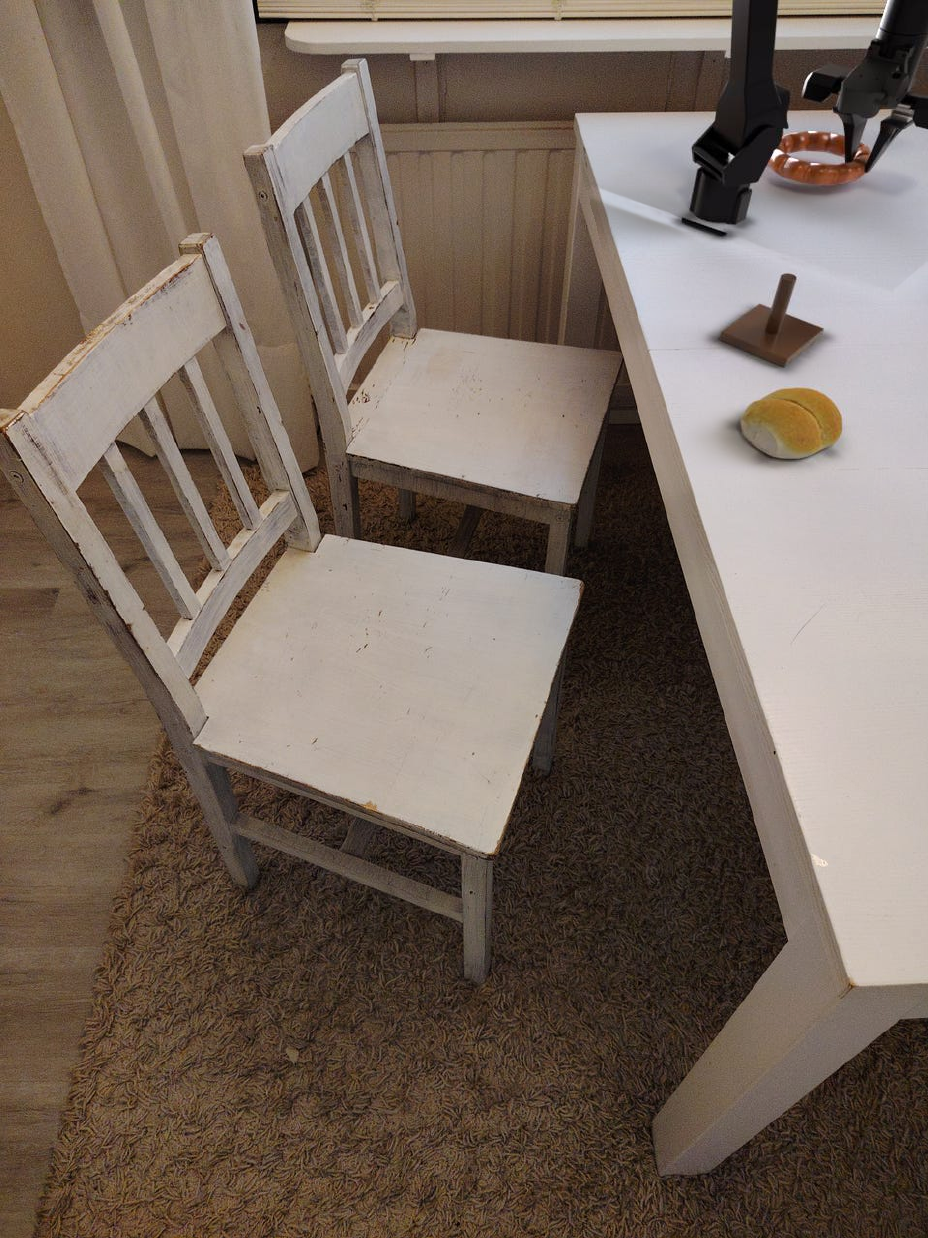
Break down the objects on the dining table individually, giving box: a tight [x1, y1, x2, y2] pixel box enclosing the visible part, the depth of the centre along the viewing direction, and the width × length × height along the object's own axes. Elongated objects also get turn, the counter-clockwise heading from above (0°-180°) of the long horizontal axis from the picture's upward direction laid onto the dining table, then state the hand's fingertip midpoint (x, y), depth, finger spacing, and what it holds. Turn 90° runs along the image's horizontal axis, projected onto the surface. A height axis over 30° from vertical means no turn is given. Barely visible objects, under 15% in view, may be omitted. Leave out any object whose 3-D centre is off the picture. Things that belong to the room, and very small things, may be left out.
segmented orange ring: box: [766, 130, 872, 186], centre depth 109 cm, size 14×14×2 cm
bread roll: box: [740, 387, 843, 460], centre depth 75 cm, size 8×9×4 cm
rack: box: [718, 272, 825, 368], centre depth 85 cm, size 8×8×7 cm
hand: (857, 169), depth 106 cm, fingers closed on segmented orange ring, 2 cm apart
